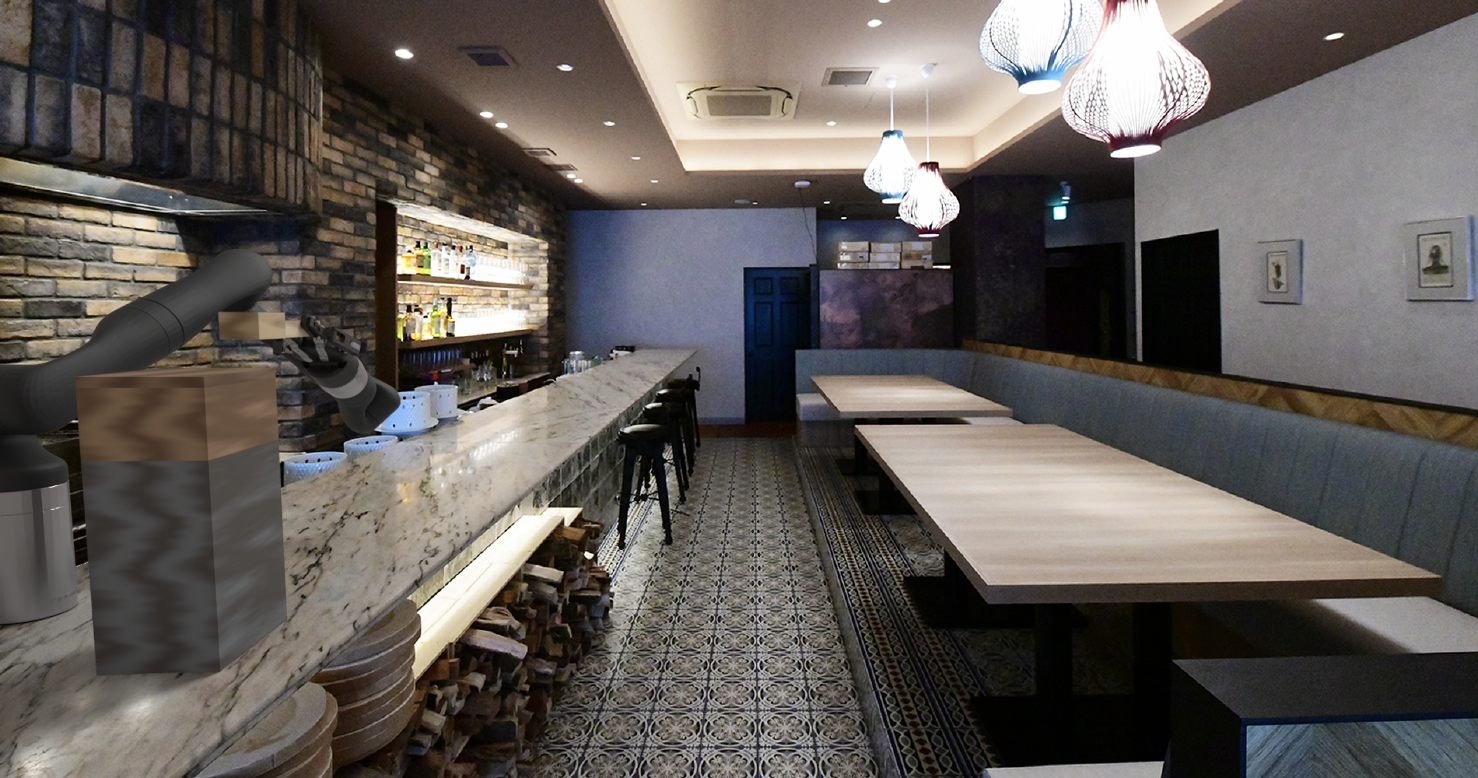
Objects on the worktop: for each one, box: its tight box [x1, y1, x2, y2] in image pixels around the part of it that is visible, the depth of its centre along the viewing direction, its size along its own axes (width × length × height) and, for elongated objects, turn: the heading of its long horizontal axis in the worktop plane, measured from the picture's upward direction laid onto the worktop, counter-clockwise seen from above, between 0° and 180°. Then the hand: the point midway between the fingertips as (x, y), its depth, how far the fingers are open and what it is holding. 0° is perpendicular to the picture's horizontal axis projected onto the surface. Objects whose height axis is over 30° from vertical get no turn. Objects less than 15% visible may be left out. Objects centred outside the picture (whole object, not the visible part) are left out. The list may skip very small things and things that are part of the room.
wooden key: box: [217, 311, 321, 341], centre depth 110 cm, size 5×20×4 cm, turn 5°
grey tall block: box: [75, 367, 288, 676], centre depth 91 cm, size 13×15×33 cm
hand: (291, 319), depth 114 cm, fingers closed on wooden key, 3 cm apart
